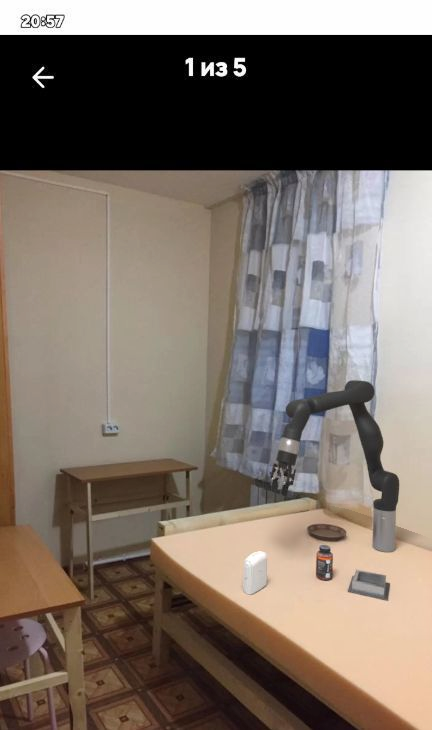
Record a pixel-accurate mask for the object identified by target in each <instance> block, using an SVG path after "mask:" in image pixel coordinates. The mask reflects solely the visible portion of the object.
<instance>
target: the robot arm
mask: <svg viewBox="0 0 432 730" xmlns="http://www.w3.org/2000/svg"><path fill="white" fill-rule="evenodd" d="M374 397H375V387H374V385H373V384H372V383H371V382H369V381H366V380H359V379H357V380H356V379H355V380H354V379H352V380H348V381H347V382H346V383H345V385H344V389H343V390H338V391H331V392H330V391H329V392H324V393H323V392H322V393H319V394H317V395H313V396H311V397H307V398H305V397H304V398H301V399H295V400H291V401H290V402H288V403H287V405H286V407H285V414H286V415H287V417H289V418H291V420H290V422H289V423H287V424H285V426H284V428H283V433H282V437H281V440H280V442H279V446H278V450H277V454H276V458H275V461H276V462H278V463H273V465H272V468H271V473H270V474H269V475H270V476H269V478H270V479H271V481H272V482H271V485H270V491H272V492H277V489H278V485H279V481H280V480H282V483H283V484H282V486H281V491H280V495H281V496H285V497H287V495H288V492H289V487H290V486H293V485H294V481H295V477H296V474H297V473H296V472H297V469H295V468H292V466H293V467H294V466H295V465H296V462H297V459H298V455H299V450H300V445H301V444H300V443H301V440H302V439H301V438H302V435H303V431H304V429H305V428H306V426H307V423H308V421H309V419H310V417H311V415H313V414H315V415H317V414H320V413H324V412H326V411H327V412H328V411H329V410H333V409H336V408H341V407H343V406H349V409H350V411H351V414H352V417H353V420H354V423H355V426H356V430H357V434H358V438H359V441H360V444H361V447H362V451H363V454H364V459H365V462H366V467H367V471H368V472H367V473H368V478H369V484H370V485H371V487H372V489H374V490H375V491H378V492H380V493H381V495H380V498H377V499H374V500H373V508H372V509H373V511H372V514H373V515H372V517H373V518H372V539H371V540H372V541H371V542H372V544H371V545H372V548H373V549H375V550H377V551H379V552H384V553H391V552H394V551H395V550H396V529H397V528H396V527H397V526H396V525H397V524H396V523H397V521H396V520H397V505H398V503H399V495H400V479H399V476H398V475H397V474H396V473H394V472H390V471H388V470H385V469H384V467H383V463H382V460H381V455H382V452H383V448H384V443H385V442H384V437H383V434H382V431H381V428H380V426H379V424H378V423H377V422H376V420H375V418H374V417H373V416H372V415H371V414H370V412H369V411H368V409H367V407H366V404H365V403H368V402H371V400H373V399H374Z"/></svg>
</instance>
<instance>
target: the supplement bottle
mask: <svg viewBox="0 0 432 730" xmlns="http://www.w3.org/2000/svg"><path fill="white" fill-rule="evenodd" d="M315 556H316V560H315V562H316V563H315V577H316V578H317V579H319V580H322V581H329V580H331V579H333V568H334V567H333V563H334V554H333V553H332V552H331V546H329V545H327V544H320V545H319V549H318V551H317V552H316V555H315Z"/></svg>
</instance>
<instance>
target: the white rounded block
mask: <svg viewBox="0 0 432 730" xmlns="http://www.w3.org/2000/svg"><path fill="white" fill-rule="evenodd" d="M242 577H243V578H242V579H243V580H242V581H243V582H242V584H243V585H242V590H243V592H244V593H245V594H246V595H254V594H255V593H257V592H259V591H260V590H261V589H263V588H265V586H267V583H268V580H267V579H268V556H267V553H266V552H264V551H255V552H252V553H251V554H249V556H247V557H246V559H245V560H244V561H243V576H242Z"/></svg>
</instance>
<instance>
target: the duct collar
mask: <svg viewBox="0 0 432 730" xmlns="http://www.w3.org/2000/svg"><path fill="white" fill-rule="evenodd" d="M390 588H391V582H388V581H387V575H385V574H381V573H376V572H371V571H365V570H360V569H355V572H354V574H353V575H352V576H351V579H350V582H349V585H348V588H347V592H348V593H350V594H355V595H359V596H365V597H369V598H373V599H378V600H382V601H386V602H388V601H389V593H390Z"/></svg>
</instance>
